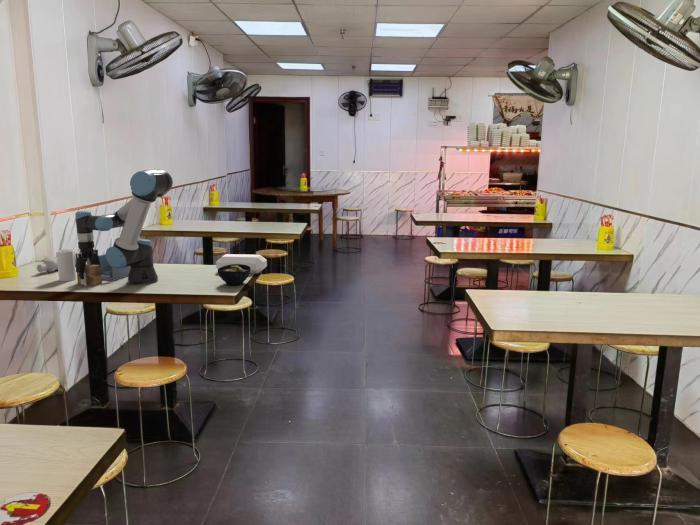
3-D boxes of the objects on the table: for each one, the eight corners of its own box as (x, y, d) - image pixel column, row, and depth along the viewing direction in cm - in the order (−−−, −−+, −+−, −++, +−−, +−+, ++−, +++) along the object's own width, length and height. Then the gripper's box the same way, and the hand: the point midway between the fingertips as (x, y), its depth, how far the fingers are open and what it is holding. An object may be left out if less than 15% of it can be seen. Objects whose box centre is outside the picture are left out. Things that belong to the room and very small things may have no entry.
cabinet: (86, 279, 296) (84, 259, 294) (110, 271, 315) (108, 252, 313) (111, 281, 292) (109, 261, 290) (134, 273, 311) (133, 254, 308)
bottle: (70, 258, 336) (31, 270, 307) (75, 246, 332) (36, 257, 304) (81, 266, 335) (43, 279, 307) (87, 255, 332) (48, 267, 304)
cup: (79, 277, 299) (76, 249, 296) (70, 281, 291) (67, 252, 288) (65, 277, 300) (62, 249, 296) (56, 281, 292) (52, 251, 288)
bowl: (213, 287, 280) (212, 268, 278) (225, 279, 297) (224, 261, 295) (245, 288, 278) (244, 269, 276) (255, 280, 294) (254, 262, 292)
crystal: (221, 252, 322) (267, 253, 320) (222, 268, 324) (268, 269, 322) (213, 257, 308) (262, 258, 306) (214, 274, 310) (262, 275, 308)
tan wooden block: (102, 283, 287) (100, 265, 285) (95, 285, 282) (93, 267, 280) (83, 281, 290) (81, 263, 288) (76, 284, 286) (74, 265, 284)
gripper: (94, 237, 293) (97, 278, 298) (64, 243, 273) (69, 287, 278) (105, 238, 291) (109, 279, 296) (77, 244, 271) (81, 288, 276)
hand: (89, 282), depth 287 cm, fingers open, 8 cm apart
